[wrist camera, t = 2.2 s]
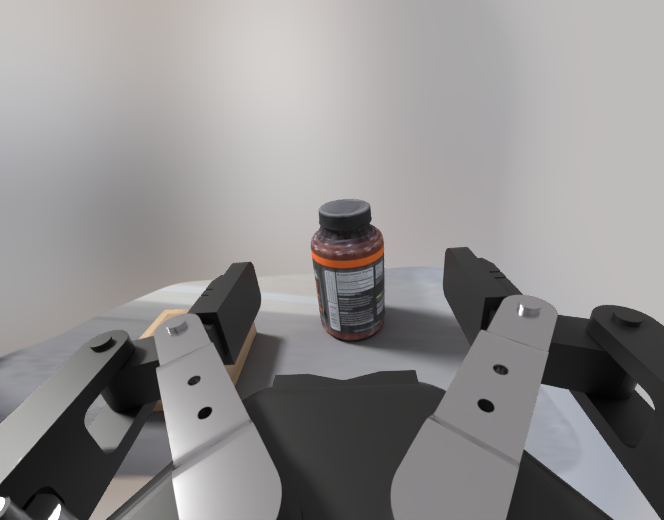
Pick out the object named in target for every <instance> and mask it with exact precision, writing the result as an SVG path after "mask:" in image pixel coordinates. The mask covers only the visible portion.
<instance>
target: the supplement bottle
mask: <svg viewBox="0 0 664 520" xmlns="http://www.w3.org/2000/svg"><path fill="white" fill-rule="evenodd" d="M370 221H371V210H370V205H369V203H367V202H366V201H362V200H358V199H343V200H336V201H331V202H328V203H325V204H324V205H322V206H321V207H320V208H319V224H320V225H321V226H320V229H319V230H318V231H317V232H316V233H315V234H314V236H313V238H312V241H311V251H312V258H313V266H314V274H315V279H316V287H317V294H318V302H319V310H320V316H321V321H322V324H323V327H324V328H325V330H326V331H327V332H328V333H329V334H331V335H332V336H335V337H337V338H340V339H343V340H360V339H364V338H368V337H370V336H371V335H373V334H375V333H376V332H377V331H378V330H379V329H380V328H381V326H382V324H383V322H384V314H385V309H384V307H385V306H384V304H385V303H384V241H383V236H382V234H381V232H380V231H379V230H378V229H377V228H376V227H374V226H373V225H371V224H370Z"/></svg>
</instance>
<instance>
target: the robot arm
mask: <svg viewBox="0 0 664 520" xmlns="http://www.w3.org/2000/svg"><path fill="white" fill-rule="evenodd" d="M443 290H444V295H445V297H446V299H447V301H448V303H449V305H450V307H451V309H452V311H453V313H454V315H455V317H456V319H457V320H458V322H459V324H460V326H461V328H462V330H463V332H464V334H465V336H466V338H467V340H468V342H469V343H470V345H471V348H470V350H469V352H468V354H467V355H466V357H465V359H464V361H463V363H462V364H461V366H460V368H459V370H458V372H457V373H456V375H455V377H454V379H453V381H452V382H451V384H450V386H449V388H448V390H447V391H445V390H443V389H441V388H438V387H436V386H433V385H430V384H427V383H423V382H418V379H417V375H416V371H415V370H406V371H380V372H376V373H372V374H368V375H364V376H360V377H356V378H352V379H348V380H338V379H333V378H327V377H322V376H316V375H311V374H297V375H275V379H274V383H273V386H272V387H269V388H266V389H264V390H261V391H259V392H256V393H254V394H252V395H251V396H249V397H247V398H246V399H244V400H243V401H241V399H240V397H239V395H238V393H237V391H236V389H235V387H234V385H233V383H232V381H231V379H230V377H229V375H228V373H227V370H226V368H225V366H224V365H235V363H236V360H237V358H238V356H239V354H240V351H241V349H242V347H243V345H244V342H245V340H246V338H247V335H248V333H249V331H250V329H251V326H252V324H253V322H254V320H255V317H256V315H257V313H258V311H259V308H260V305H261V294H260V289H259V285H258V281H257V277H256V274H255V269H254V266H253V264H252V263H251V262H243V263H233V264H232V265H231V266H230V267H229V269H228V270H227V271H226V273H225V274H224V275H221V276H219V277H218V278H216V279H215V280H214V281H212V282H211V283H210V285H209V286H208V287H207V288H206V291H204V292H203V293H202V295H201V297H199V299H198V300H197V301H196V302H195V304H194V305H193V306H192V307H191V309H190V310H189V311H188V313H187V314H181V315H177V316H174V317H172V318H170V319H168V320H166V321H165V322H163V323H162V324H160V325H159V326H158V327H157V329H156V330H155V332H154V336H150V337H146V338H142V339H138V340H134V341H131V339H130V337H129V335H128V333H127V332H126V331H123V330H114V331H109V332H106V333H103V334H101V335H98V336H96V337H94V338H92V339H91V340H89V341H88V342H86V343H85V344H84V345H82V346H81V347H80V348H79V349H78V350H77V351H76V352H75V353H74V354H73V355H72V356H71V357H70V358H69V359H68V360H67V361H66V362H64V363H63V364H62V365H61V366H60V367H59V368H58V369H57V370H56V371H55V372H54V373H53V374H52V375H51V376H50V377H49V378H48V379H47V380H46V381H45V382H44V383H42V384H41V385H40V386H39V387H38V388H37V389H36V390H35V391H34V392H33V393H32V394H31V395H30V396H29V397H28V398H27V399H26V400H25V401H24V402H23V403H22V404H20V405H19V406H18V407H17V408H16V409H15V410H14V411H13V412H12V413H11V414H10V415H9V416H8V417H7V418H6V419H5V420H4V421H3V422H2V423H1V424H0V520H88V519H89V518H90V516H91V514H92V513H93V511H94V509H95V508H96V506H97V504H98V502H99V501H100V499H101V497H102V496H103V494H104V492H105V491H106V489H107V487H108V485H109V484H110V482H111V480H112V479H113V477H114V475H115V473H116V472H117V470H118V468H119V467H120V465H121V463H122V461H123V460H124V458H125V456H126V455H127V453H128V451H129V450H130V448H131V446H132V444H133V443H134V441H135V439H136V438H137V436H138V434H139V432H140V431H141V429H142V427H143V426H144V424H145V422H146V420H147V419H148V417H149V415H150V414H151V412H152V410H153V409H154V407H155V405H156V403H157V401H158V400H162V404H163V410H164V415H165V420H166V426H167V431H168V437H169V442H170V447H171V453H172V458H173V461H172V462H171V463H170V464H169V465H168V466H166V467H165V468H164V469H163V470H162V471H161V472H160V473H158V474H157V475H156V476H155V477H154V478H153V479H152V480H150V481H149V482H148V483H147V484H146V485H145V486H144V487H143V488H141V489H140V490H139V491H138V492H137V493H136V494H135V495H134V496H132V497H131V498H130V499H129V500H128V501H127V502H125V503H124V504H123V505H122V506H121V507H120V508H119V509H117V510H116V511H115V512H114V513H113V514H112V515H111V516H110V517H108V518H107V519H106V520H613V519H612V518H611V517H610V516H608V515H607V514H606V513H604V512H603V511H602V510H601V509H599V508H598V507H597V506H596V505H594V504H593V503H592V502H590V501H589V500H588V499H587V498H585V497H584V496H583V495H581V494H580V493H579V492H578V491H576V490H575V489H574V488H573V487H571V486H570V485H569V484H568V483H566V482H565V481H563V480H562V479H561V478H560V477H559V476H557V475H556V474H555V473H553V472H552V471H551V470H550V469H548V468H547V467H546V466H545V465H543V464H542V463H541V462H539V461H538V460H537V459H536V458H534V457H533V456H532V455H531V454H529V453H528V452H527V451H525V450H524V445H525V441H526V438H527V434H528V430H529V426H530V422H531V418H532V414H533V411H534V407H535V403H536V399H537V395H538V391H539V388H540V384H545V385H550V386H555V387H559V388H564V389H569V391H570V392H571V394H572V395H573V396H574V398H575V399H576V400H577V402H578V403H579V405H580V406H581V407H582V409H583V410H584V412H585V413H586V415H587V416H588V417H589V419H590V420H591V422H592V423H593V424H594V426H595V427H596V429H597V430H598V431H599V433H600V434H601V436H602V437H603V439H604V440H605V441H606V443H607V444H608V445H609V447H610V448H611V449H612V451H613V453H614V454H615V455H616V457H617V458H618V459H619V461H620V462H621V464H622V465H623V467H624V468H625V469H626V470H627V472H628V474H629V475H630V476H631V478H632V479H633V481H634V482H635V483H636V485H637V486H638V488H639V489H640V490H641V492H642V493H643V495H644V496H645V497H646V499H647V500H648V502H649V503H650V504H651V506H652V507H653V509H654V510H655V512H656V513H657V514H658V516H659V517H660V518H661V520H664V326H663V325H662V324H660V323H659V322H658V321H656V320H655V319H653V318H652V317H650V316H648V315H646V314H644V313H642V312H639V311H636V310H634V309H630V308H626V307H621V306H615V305H602V306H598V307H596V308H594V309H593V311H592V313H591V316H590V319H585V318H578V317H570V316H563V315H558V313H557V310H556V309H555V308H554V307H553V306H552V305H551V304H550V303H548V302H546V301H544V300H542V299H539V298H536V297H533V296H527V295H523V294H522V293H521V292H520V291H519V290H518V289H517V288H516V287H515V286H514V285H513V284H512V283H511V282H510V280H508V279H507V278H506V276H505V275H504V274H503V273H502V272H500V270H499V269H498V268H497V267H496V266H495V265H494V264H493V263H491V262H489V261H487V260H485V259H483V258H477V257H476V256H475V255H474V254H473V253H472V251H470V249H469V248H468V247H459V248H448V249H447V250H446V252H445V263H444V276H443ZM637 383H638V384H639V385H640V386H641V387H642V388H643V389H644V390H645V391H646V392H647V393H648V395H649V396H650V398H651V399H652V401H653V404H654V407H655V411H654V409H653V408H652V407H651V406H650V405H649V404H648V403H647V402H646V401H645V400H644V399H643V398H642V397H641V396H640V395H639V394H638V393H637V392H636V390H635V387H636V385H637ZM100 393H101V395H102V396H103V398H104V399H105V401H106V403H107V404H106V405H105V406H104V408H103V409H102V410H101V412H100V413H99V414H98V416H97V417H96V418H95V420H94V421H93V422H92V423H91V425H90V426H89V427H88V429H86V427H85V424H84V418H85V414H86V412H87V410H88V408H89V407H90V405H91V404H92V403H93V402H94V400H95V399H96V398H97V397H98V396H99V394H100Z"/></svg>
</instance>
